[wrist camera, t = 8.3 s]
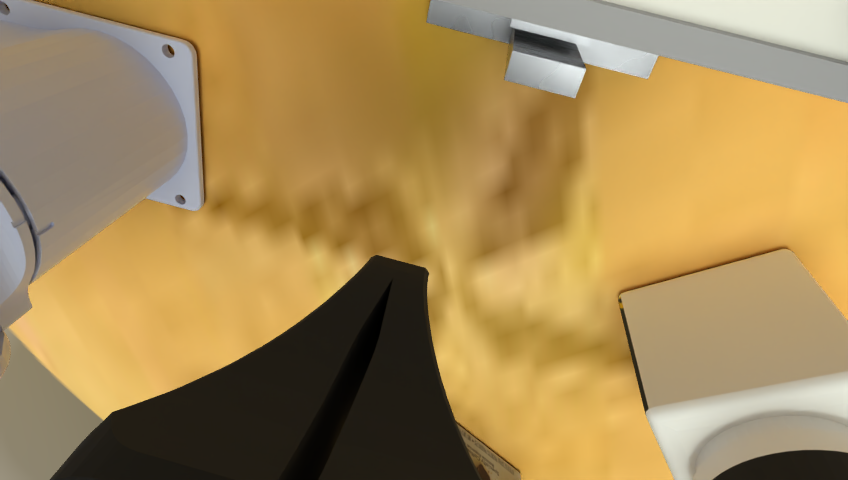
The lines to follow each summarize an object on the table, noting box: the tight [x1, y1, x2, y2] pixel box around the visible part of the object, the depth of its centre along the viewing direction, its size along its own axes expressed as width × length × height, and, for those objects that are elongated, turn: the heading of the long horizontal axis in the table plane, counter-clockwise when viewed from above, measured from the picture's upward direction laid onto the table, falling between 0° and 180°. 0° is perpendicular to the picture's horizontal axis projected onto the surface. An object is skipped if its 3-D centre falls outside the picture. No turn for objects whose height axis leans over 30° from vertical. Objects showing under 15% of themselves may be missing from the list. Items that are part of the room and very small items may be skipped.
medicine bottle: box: [618, 249, 848, 480], centre depth 19 cm, size 7×7×12 cm
